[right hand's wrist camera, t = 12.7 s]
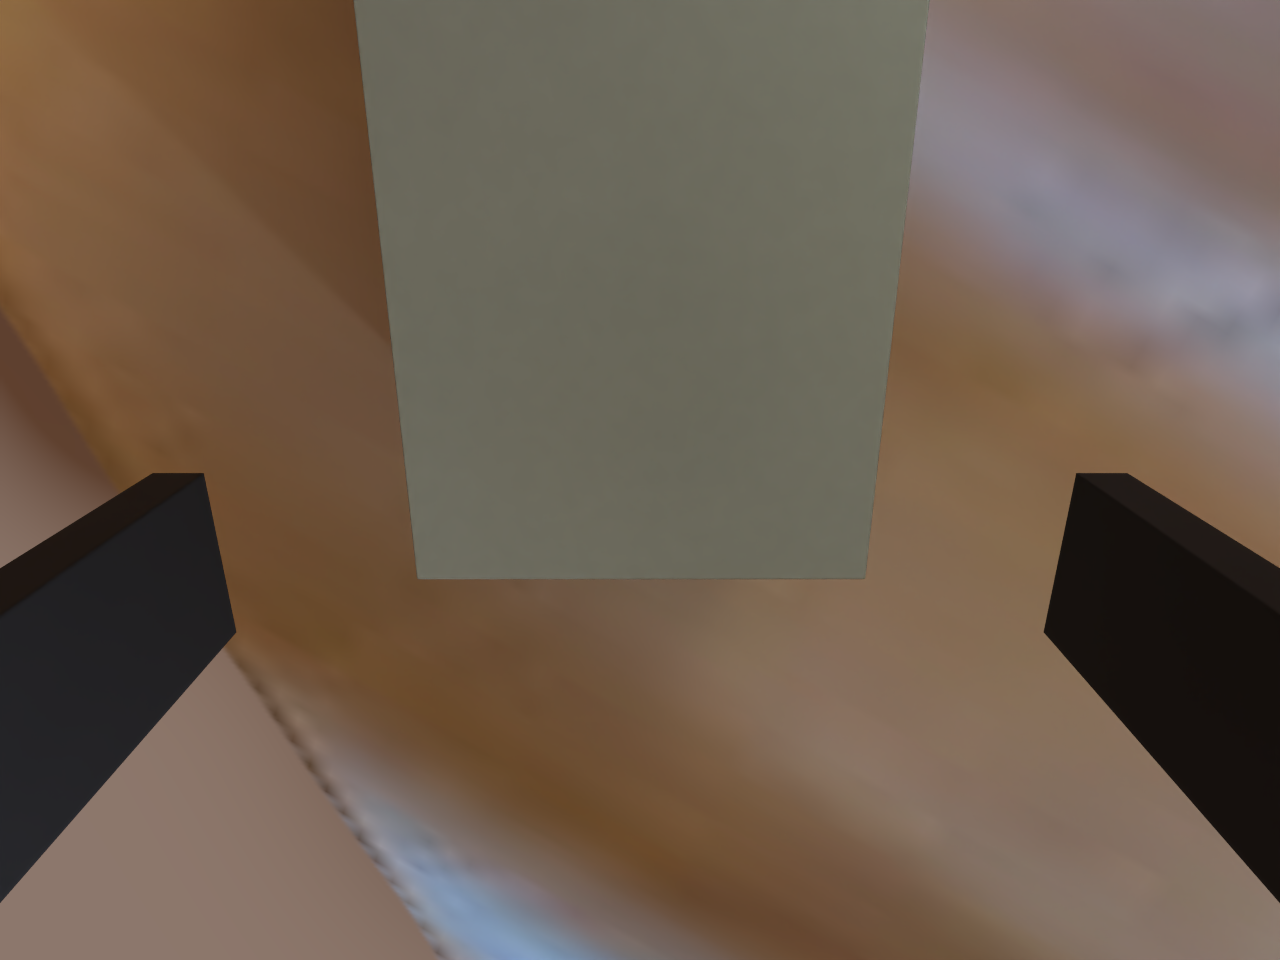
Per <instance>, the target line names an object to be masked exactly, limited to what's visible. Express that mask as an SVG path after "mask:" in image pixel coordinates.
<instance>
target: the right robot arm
mask: <svg viewBox="0 0 1280 960" xmlns="http://www.w3.org/2000/svg"><path fill="white" fill-rule="evenodd" d="M235 633H236V628H235V623H234V619H233V614H232V609H231V604H230V599H229V594H228V589H227V585H226V580H225V575H224V570H223V565H222V560H221V555H220V551H219V546H218V541H217V536H216V531H215V526H214V521H213V517H212V512H211V507H210V502H209V497H208V492H207V487H206V483H205V478H204V473H152V474H151V475H149V476H147V477H146V478H144V479H143V480H141V481H139V482H138V483H136V484H135V485H133V486H131V487H130V488H128V489H127V490H125V491H123V492H122V493H120V494H119V495H117V496H115V497H114V498H112V499H111V500H109V501H107V502H106V503H104V504H103V505H101V506H99V507H98V508H96V509H95V510H93V511H91V512H90V513H88V514H87V515H85V516H83V517H82V518H80V519H79V520H77V521H75V522H74V523H72V524H71V525H69V526H67V527H66V528H64V529H63V530H61V531H59V532H58V533H56V534H55V535H53V536H51V537H50V538H48V539H47V540H45V541H43V542H42V543H40V544H38V545H37V546H35V547H34V548H32V549H30V550H29V551H27V552H26V553H24V554H23V555H21V556H19V557H18V558H16V559H14V560H13V561H11V562H10V563H8V564H6V565H5V566H3V567H2V568H0V902H1V901H2V900H3V899H4V898H5V897H6V896H7V894H8V893H9V892H10V891H11V890H12V889H13V888H14V886H15V885H16V884H17V883H18V882H19V881H20V880H21V878H22V877H23V876H24V875H25V874H26V873H27V872H28V870H29V869H30V868H31V867H32V866H33V865H34V863H35V862H36V861H37V860H38V859H39V858H40V857H41V855H42V854H43V853H44V852H45V851H46V850H47V849H48V847H49V846H50V845H51V844H52V843H53V842H54V841H55V839H56V838H57V837H58V836H59V835H60V834H61V833H62V831H63V830H64V829H65V828H66V827H67V826H68V824H69V823H70V822H71V821H72V820H73V819H74V818H75V816H76V815H77V814H78V813H79V812H80V811H81V810H82V808H83V807H84V806H85V805H86V804H87V803H88V802H89V800H90V799H91V798H92V797H93V796H94V795H95V794H96V792H97V791H98V790H99V789H100V788H101V787H102V786H103V784H104V783H105V782H106V781H107V780H108V779H109V778H110V776H111V775H112V774H113V773H114V772H115V771H116V769H117V768H118V767H119V766H120V765H121V764H122V763H123V761H124V760H125V759H126V758H127V757H128V756H129V755H130V753H131V752H132V751H133V750H134V749H135V748H136V747H137V745H138V744H139V743H140V742H141V741H142V740H143V738H144V737H145V736H146V735H147V734H148V733H149V732H150V730H151V729H152V728H153V727H154V726H155V725H156V724H157V722H158V721H159V720H160V719H161V718H162V717H163V716H164V714H165V713H166V712H167V711H168V710H169V709H170V707H171V706H172V705H173V704H174V703H175V702H176V701H177V700H178V698H179V697H180V696H181V695H182V694H183V693H184V692H185V690H186V689H187V688H188V687H189V686H190V685H191V684H192V682H193V681H194V680H195V679H196V678H197V677H198V675H199V674H200V673H201V672H202V671H203V670H204V669H205V667H206V666H207V665H208V664H209V663H210V662H211V661H212V659H213V658H214V657H215V656H216V655H217V654H218V653H219V651H220V650H221V649H222V648H223V647H224V646H225V645H226V643H227V642H228V641H229V640H230V639H231V638H232V636H233V635H234V634H235ZM1044 633H1045V634H1046V635H1047V636H1048V638H1049V639H1050V640H1051V641H1052V642H1053V643H1054V645H1055V646H1056V647H1057V648H1058V649H1059V650H1060V651H1061V653H1062V654H1063V655H1064V656H1065V657H1066V658H1067V659H1068V661H1069V662H1070V663H1071V664H1072V665H1073V666H1074V667H1075V669H1076V670H1077V671H1078V672H1079V673H1080V674H1081V675H1082V677H1083V678H1084V679H1085V680H1086V681H1087V682H1088V684H1089V685H1090V686H1091V687H1092V688H1093V689H1094V690H1095V692H1096V693H1097V694H1098V695H1099V696H1100V697H1101V698H1102V700H1103V701H1104V702H1105V703H1106V704H1107V705H1108V706H1109V708H1110V709H1111V710H1112V711H1113V712H1114V713H1115V714H1116V716H1117V717H1118V718H1119V719H1120V720H1121V721H1122V722H1123V724H1124V725H1125V726H1126V727H1127V728H1128V729H1129V731H1130V732H1131V733H1132V734H1133V735H1134V736H1135V737H1136V739H1137V740H1138V741H1139V742H1140V743H1141V744H1142V745H1143V747H1144V748H1145V749H1146V750H1147V751H1148V752H1149V753H1150V755H1151V756H1152V757H1153V758H1154V759H1155V760H1156V761H1157V763H1158V764H1159V765H1160V766H1161V767H1162V768H1163V769H1164V771H1165V772H1166V773H1167V774H1168V775H1169V776H1170V778H1171V779H1172V780H1173V781H1174V782H1175V783H1176V784H1177V786H1178V787H1179V788H1180V789H1181V790H1182V791H1183V792H1184V794H1185V795H1186V796H1187V797H1188V798H1189V799H1190V800H1191V802H1192V803H1193V804H1194V805H1195V806H1196V807H1197V808H1198V810H1199V811H1200V812H1201V813H1202V814H1203V815H1204V817H1205V818H1206V819H1207V820H1208V821H1209V822H1210V823H1211V825H1212V826H1213V827H1214V828H1215V829H1216V830H1217V831H1218V833H1219V834H1220V835H1221V836H1222V837H1223V838H1224V839H1225V841H1226V842H1227V843H1228V844H1229V845H1230V846H1231V847H1232V849H1233V850H1234V851H1235V852H1236V853H1237V854H1238V855H1239V857H1240V858H1241V859H1242V860H1243V861H1244V862H1245V864H1246V865H1247V866H1248V867H1249V868H1250V869H1251V870H1252V872H1253V873H1254V874H1255V875H1256V876H1257V877H1258V878H1259V880H1260V881H1261V882H1262V883H1263V884H1264V885H1265V886H1266V888H1267V889H1268V890H1269V891H1270V892H1271V893H1272V894H1273V896H1274V897H1275V898H1276V899H1277V900H1278V901H1279V902H1280V568H1278V567H1277V566H1275V565H1274V564H1272V563H1270V562H1269V561H1267V560H1266V559H1264V558H1262V557H1261V556H1259V555H1258V554H1256V553H1254V552H1253V551H1251V550H1250V549H1248V548H1246V547H1245V546H1243V545H1242V544H1240V543H1238V542H1237V541H1235V540H1233V539H1232V538H1230V537H1229V536H1227V535H1225V534H1224V533H1222V532H1221V531H1219V530H1217V529H1216V528H1214V527H1213V526H1211V525H1209V524H1208V523H1206V522H1205V521H1203V520H1201V519H1200V518H1198V517H1197V516H1195V515H1193V514H1192V513H1190V512H1189V511H1187V510H1185V509H1184V508H1182V507H1181V506H1179V505H1177V504H1176V503H1174V502H1173V501H1171V500H1169V499H1168V498H1166V497H1165V496H1163V495H1161V494H1160V493H1158V492H1157V491H1155V490H1153V489H1152V488H1150V487H1149V486H1147V485H1145V484H1144V483H1142V482H1141V481H1139V480H1137V479H1136V478H1134V477H1132V476H1131V475H1129V474H1128V473H1076V478H1075V483H1074V487H1073V492H1072V497H1071V502H1070V507H1069V512H1068V517H1067V521H1066V526H1065V531H1064V536H1063V541H1062V546H1061V551H1060V555H1059V560H1058V565H1057V570H1056V575H1055V580H1054V585H1053V589H1052V594H1051V599H1050V604H1049V609H1048V614H1047V619H1046V623H1045V628H1044Z"/></svg>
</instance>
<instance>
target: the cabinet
mask: <svg viewBox="0 0 1280 960" xmlns="http://www.w3.org/2000/svg"><path fill="white" fill-rule="evenodd" d="M354 9H355V18H356V28H357V37H358V46H359V55H360V64H361V73H362V82H363V91H364V100H365V109H366V118H367V127H368V136H369V146H370V155H371V164H372V173H373V182H374V191H375V200H376V209H377V218H378V227H379V236H380V245H381V254H382V264H383V273H384V282H385V291H386V300H387V309H388V318H389V327H390V336H391V345H392V354H393V363H394V372H395V382H396V391H397V400H398V409H399V418H400V427H401V436H402V445H403V454H404V463H405V472H406V481H407V491H408V500H409V509H410V518H411V527H412V536H413V545H414V554H415V563H416V572H417V578H418V579H865V575H866V566H867V557H868V548H869V539H870V530H871V521H872V512H873V503H874V494H875V485H876V476H877V467H878V458H879V449H880V440H881V432H882V423H883V414H884V405H885V396H886V387H887V378H888V369H889V360H890V351H891V342H892V333H893V324H894V315H895V306H896V297H897V288H898V279H899V270H900V261H901V252H902V243H903V234H904V225H905V216H906V207H907V198H908V189H909V180H910V171H911V162H912V153H913V144H914V135H915V126H916V117H917V108H918V99H919V90H920V81H921V72H922V63H923V54H924V45H925V36H926V27H927V18H928V9H929V0H354Z"/></svg>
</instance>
